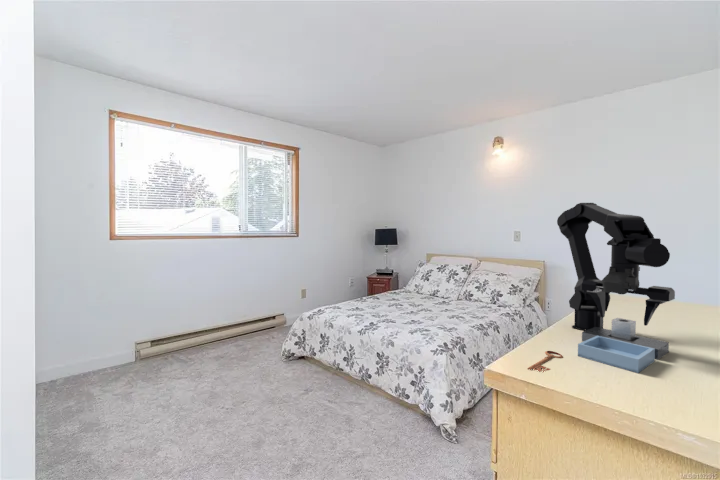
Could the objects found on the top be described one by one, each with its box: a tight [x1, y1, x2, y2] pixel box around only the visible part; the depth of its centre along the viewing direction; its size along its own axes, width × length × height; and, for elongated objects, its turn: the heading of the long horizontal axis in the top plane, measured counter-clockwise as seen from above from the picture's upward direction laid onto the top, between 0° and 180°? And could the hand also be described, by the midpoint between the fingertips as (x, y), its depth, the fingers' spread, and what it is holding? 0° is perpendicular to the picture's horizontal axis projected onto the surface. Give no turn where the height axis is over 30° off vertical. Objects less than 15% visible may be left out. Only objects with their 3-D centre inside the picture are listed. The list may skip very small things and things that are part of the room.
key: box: [526, 350, 564, 373], centre depth 75 cm, size 6×1×15 cm
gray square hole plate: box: [581, 327, 670, 361], centre depth 85 cm, size 16×9×2 cm, turn 34°
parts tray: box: [577, 336, 656, 374], centre depth 77 cm, size 12×12×3 cm
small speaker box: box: [611, 317, 637, 342], centre depth 85 cm, size 4×4×7 cm
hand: (623, 321), depth 85 cm, fingers open, 9 cm apart
